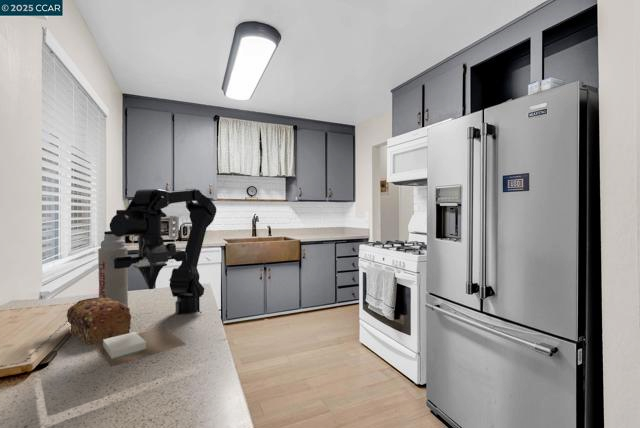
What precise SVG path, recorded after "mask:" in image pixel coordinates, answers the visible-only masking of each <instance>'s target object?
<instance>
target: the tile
mask: <svg viewBox="0 0 640 428" xmlns="http://www.w3.org/2000/svg"><path fill="white" fill-rule="evenodd" d="M138 334H139V333H137V332H136V331H133V332H130V333H128V334H124V335H120V336H116V337H111V338H107V339H103V341H102V342H103V348H104V349H105V351H106V352H107V354H108V355H109V356H110V358H111V359H115V358H119V357H122V356H126V355H129V354H133V353H137V352H140V351H144V350H146V341H144V340H143V339H142V338H141V337H140V336H139V335H138Z"/></svg>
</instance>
